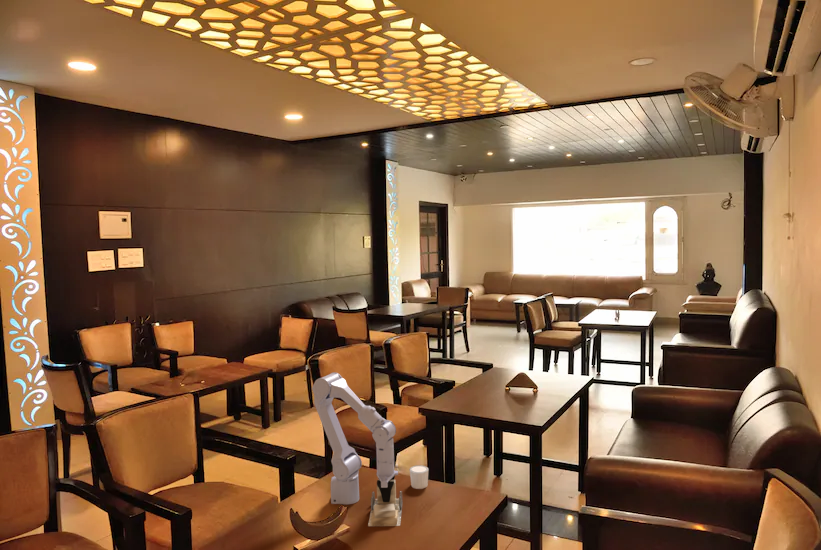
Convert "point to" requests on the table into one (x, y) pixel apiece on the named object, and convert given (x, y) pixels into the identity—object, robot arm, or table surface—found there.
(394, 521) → the offcut lower
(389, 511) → the offcut upper
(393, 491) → the birch block
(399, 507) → the rack
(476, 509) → the table surface
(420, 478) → the white cylinder
